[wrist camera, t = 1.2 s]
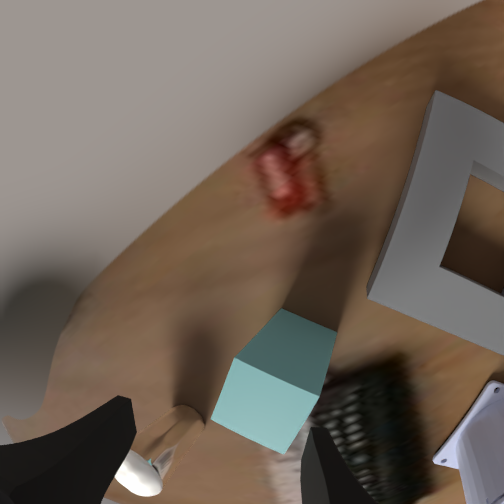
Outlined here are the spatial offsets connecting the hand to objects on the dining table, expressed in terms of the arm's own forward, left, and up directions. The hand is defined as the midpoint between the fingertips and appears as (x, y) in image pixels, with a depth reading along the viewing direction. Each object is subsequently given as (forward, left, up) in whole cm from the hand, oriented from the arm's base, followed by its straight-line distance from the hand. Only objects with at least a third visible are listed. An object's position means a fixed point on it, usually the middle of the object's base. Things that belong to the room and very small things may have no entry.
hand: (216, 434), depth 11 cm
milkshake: (+5, +11, -11) cm, 16 cm away
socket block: (-9, -12, -11) cm, 18 cm away
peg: (-1, 0, -11) cm, 11 cm away
